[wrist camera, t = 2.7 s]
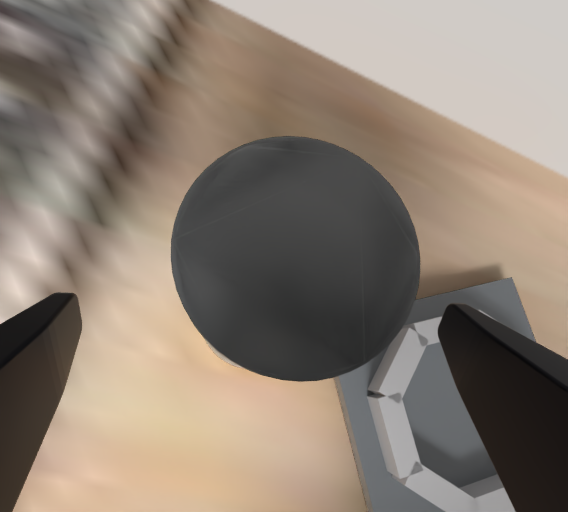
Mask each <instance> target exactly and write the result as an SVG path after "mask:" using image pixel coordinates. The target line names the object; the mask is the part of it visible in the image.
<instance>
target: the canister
mask: <svg viewBox="0 0 568 512" xmlns="http://www.w3.org/2000/svg"><path fill="white" fill-rule="evenodd" d="M171 263H172V272H173V277H174V281H175V285H176V289H177V292H178V294H179V297H180V299H181V302H182V304H183V307H184V309H185V310H186V312H187V314H188V315H189V317H190V319H191V321H192V322H193V324H194V326H195V327H196V328H197V330H198V331H199V332H200V334H201V335H202V336H203V337H204V339H205V341H206V342H207V344H208V346H209V347H210V349H211V350H212V351H213V352H214V353H215V354H216V355H217V356H218V357H219V358H220V359H222V360H223V361H225V362H227V363H228V364H230V365H233V366H236V367H240V368H244V369H247V370H249V371H252V372H255V373H257V374H260V375H263V376H268V377H272V378H276V379H281V380H289V381H318V380H323V379H328V378H333V377H337V376H340V375H343V374H345V373H348V372H351V371H353V370H355V369H357V368H359V367H361V366H363V365H365V364H366V363H368V362H369V361H370V360H372V359H373V358H375V357H376V356H377V355H379V354H380V353H381V352H382V351H383V350H384V349H385V348H386V347H387V346H388V345H389V344H390V343H391V342H392V341H393V340H394V338H395V337H396V336H397V335H398V333H399V332H400V331H401V329H402V327H403V326H404V324H405V322H406V320H407V319H408V317H409V315H410V312H411V310H412V307H413V305H414V302H415V298H416V294H417V291H418V286H419V278H420V253H419V246H418V240H417V236H416V232H415V229H414V226H413V223H412V220H411V218H410V215H409V213H408V211H407V209H406V207H405V205H404V204H403V202H402V200H401V198H400V197H399V196H398V194H397V193H396V191H395V190H394V188H393V187H392V186H391V185H390V184H389V182H388V181H387V180H386V179H385V178H384V177H383V176H382V175H381V174H380V173H379V172H378V171H377V170H376V169H375V168H373V167H372V166H371V165H370V164H368V163H367V162H366V161H364V160H363V159H361V158H360V157H358V156H357V155H355V154H353V153H351V152H349V151H348V150H346V149H343V148H341V147H339V146H336V145H334V144H331V143H328V142H325V141H321V140H318V139H312V138H306V137H294V136H283V137H271V138H266V139H261V140H257V141H253V142H250V143H247V144H244V145H242V146H240V147H238V148H235V149H233V150H231V151H229V152H228V153H226V154H225V155H223V156H222V157H220V158H218V159H217V160H216V161H215V162H213V163H212V164H211V165H210V166H209V167H207V168H206V169H205V170H204V171H203V172H202V174H201V175H200V176H199V177H198V178H197V179H196V180H195V182H194V183H193V185H192V186H191V187H190V189H189V190H188V192H187V193H186V195H185V197H184V199H183V201H182V203H181V205H180V208H179V210H178V213H177V216H176V220H175V223H174V228H173V233H172V239H171Z"/></svg>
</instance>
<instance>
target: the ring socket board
mask: <svg viewBox="0 0 568 512" xmlns="http://www.w3.org/2000/svg"><path fill="white" fill-rule="evenodd" d="M450 303H464V304H467V305H469V306H471V307H472V308H474V309H476V310H478V311H480V312H482V313H483V314H485V315H487V316H489V317H491V318H493V319H494V320H496V321H498V322H500V323H502V324H504V325H505V326H507V327H509V328H511V329H513V330H514V331H516V332H518V333H520V334H522V335H524V336H525V337H527V338H529V339H531V340H533V341H535V338H534V335H533V333H532V330H531V327H530V324H529V322H528V319H527V316H526V314H525V311H524V308H523V306H522V303H521V300H520V298H519V295H518V292H517V290H516V287H515V284H514V282H513V279H512V277H511V278H507V279H502V280H498V281H494V282H490V283H485V284H481V285H477V286H473V287H468V288H464V289H460V290H456V291H451V292H447V293H443V294H439V295H434V296H430V297H426V298H422V299H417V300H415V302H414V305H413V307H412V310H411V312H410V315H409V317H408V319H407V320H406V322H405V324H404V326H403V327H402V329H401V331H400V332H399V333H398V335H397V336H396V337H395V338H394V340H393V341H392V342H391V343H390V344H389V345H388V346H387V347H386V348H385V349H384V350H383V351H382V352H381V353H380V354H379V355H377V356H376V357H375V358H373V359H372V360H370V361H369V362H368V363H366V364H365V365H363V366H361V367H359V368H357V369H355V370H353V371H351V372H348V373H345V374H343V375H340V376H337V377H334V380H335V384H336V388H337V392H338V396H339V400H340V404H341V408H342V412H343V415H344V419H345V423H346V427H347V431H348V435H349V439H350V443H351V447H352V451H353V455H354V459H355V462H356V466H357V470H358V474H359V478H360V482H361V486H362V490H363V494H364V498H365V502H366V505H367V509H368V512H515V510H514V508H513V505H512V503H511V501H510V499H509V497H508V495H507V493H506V491H505V489H504V487H503V485H502V482H501V480H500V478H499V476H498V474H497V472H496V470H495V468H494V466H493V464H492V462H491V459H490V457H489V455H488V453H487V451H486V449H485V447H484V445H483V443H482V441H481V439H480V436H479V434H478V432H477V430H476V428H475V426H474V424H473V422H472V420H471V418H470V415H469V413H468V411H467V409H466V407H465V405H464V403H463V401H462V399H461V397H460V394H459V392H458V390H457V388H456V385H455V382H454V380H453V377H452V374H451V372H450V369H449V366H448V363H447V360H446V358H445V355H444V352H443V349H442V346H441V344H440V341H439V338H438V326H439V324H440V321H441V319H442V316H443V314H444V311H445V309H446V307H447V305H448V304H450ZM535 342H536V341H535Z"/></svg>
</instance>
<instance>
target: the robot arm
mask: <svg viewBox="0 0 568 512" xmlns="http://www.w3.org/2000/svg"><path fill="white" fill-rule="evenodd" d="M81 331H82V319H81V313H80V307H79V302H78V297H77V295H76V294H74V293H60V292H58V293H54V294H52V295H50V296H48V297H47V298H45V299H43V300H41V301H40V302H38V303H36V304H35V305H33V306H31V307H29V308H28V309H26V310H24V311H22V312H21V313H19V314H17V315H15V316H14V317H12V318H10V319H8V320H7V321H5V322H3V323H2V324H0V512H12V511H13V509H14V507H15V504H16V502H17V500H18V497H19V495H20V493H21V490H22V488H23V486H24V483H25V481H26V479H27V476H28V474H29V472H30V469H31V467H32V465H33V462H34V460H35V458H36V456H37V453H38V451H39V449H40V446H41V444H42V442H43V439H44V437H45V435H46V432H47V430H48V428H49V425H50V423H51V421H52V418H53V416H54V414H55V411H56V409H57V407H58V405H59V402H60V400H61V397H62V395H63V392H64V389H65V386H66V383H67V379H68V376H69V372H70V369H71V365H72V362H73V359H74V355H75V352H76V348H77V345H78V342H79V338H80V335H81ZM438 338H439V341H440V344H441V346H442V349H443V352H444V355H445V358H446V360H447V363H448V366H449V369H450V372H451V374H452V377H453V380H454V382H455V385H456V388H457V390H458V392H459V394H460V397H461V399H462V401H463V403H464V405H465V407H466V409H467V411H468V413H469V415H470V418H471V420H472V422H473V424H474V426H475V428H476V430H477V432H478V434H479V436H480V439H481V441H482V443H483V445H484V447H485V449H486V451H487V453H488V455H489V457H490V459H491V462H492V464H493V466H494V468H495V470H496V472H497V474H498V476H499V478H500V480H501V482H502V485H503V487H504V489H505V491H506V493H507V495H508V497H509V499H510V501H511V503H512V505H513V508H514V510H515V512H568V360H567V359H566V358H564V357H562V356H560V355H558V354H556V353H555V352H553V351H551V350H549V349H547V348H545V347H544V346H542V345H540V344H538V343H536V342H535V341H533V340H531V339H529V338H527V337H525V336H524V335H522V334H520V333H518V332H516V331H514V330H513V329H511V328H509V327H507V326H505V325H504V324H502V323H500V322H498V321H496V320H494V319H493V318H491V317H489V316H487V315H485V314H483V313H482V312H480V311H478V310H476V309H474V308H472V307H471V306H469V305H467V304H464V303H450V304H448V305H447V307H446V309H445V311H444V314H443V316H442V319H441V321H440V324H439V326H438Z"/></svg>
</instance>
